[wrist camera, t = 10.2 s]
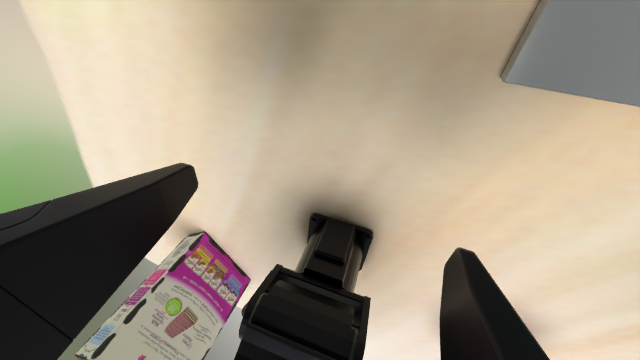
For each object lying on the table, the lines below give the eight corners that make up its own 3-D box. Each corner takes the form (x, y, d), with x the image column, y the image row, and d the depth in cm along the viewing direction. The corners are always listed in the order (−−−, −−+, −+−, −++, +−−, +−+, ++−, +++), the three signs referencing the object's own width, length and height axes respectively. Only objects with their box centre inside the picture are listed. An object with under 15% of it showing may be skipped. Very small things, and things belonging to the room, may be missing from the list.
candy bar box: (185, 235, 38) (69, 355, 26) (204, 230, 35) (85, 361, 23) (232, 281, 42) (152, 404, 30) (252, 280, 40) (173, 414, 27)
